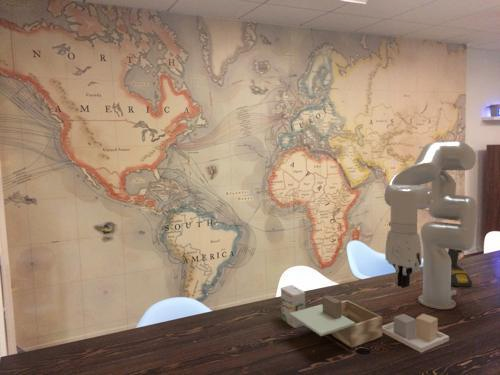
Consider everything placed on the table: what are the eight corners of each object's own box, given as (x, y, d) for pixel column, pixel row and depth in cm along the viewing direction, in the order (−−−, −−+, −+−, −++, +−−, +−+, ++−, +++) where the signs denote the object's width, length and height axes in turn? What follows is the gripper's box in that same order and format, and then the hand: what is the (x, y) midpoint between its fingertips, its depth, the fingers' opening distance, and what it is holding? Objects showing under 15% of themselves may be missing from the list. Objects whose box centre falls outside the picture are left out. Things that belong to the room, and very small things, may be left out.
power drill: (483, 292, 145) (485, 232, 143) (461, 293, 145) (462, 233, 143) (455, 276, 165) (456, 223, 163) (436, 276, 165) (437, 224, 163)
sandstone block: (422, 331, 113) (423, 313, 113) (437, 336, 110) (437, 318, 109) (416, 336, 111) (416, 317, 110) (430, 341, 107) (430, 322, 107)
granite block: (403, 331, 114) (403, 313, 113) (415, 337, 110) (415, 319, 109) (393, 335, 112) (393, 317, 111) (405, 341, 108) (406, 322, 107)
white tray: (406, 322, 121) (406, 317, 121) (448, 342, 107) (449, 336, 107) (379, 332, 115) (379, 326, 114) (421, 354, 101) (421, 348, 101)
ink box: (280, 318, 127) (280, 287, 126) (292, 315, 129) (291, 284, 128) (294, 328, 119) (293, 294, 118) (306, 325, 121) (305, 292, 120)
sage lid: (321, 306, 119) (321, 289, 119) (355, 324, 105) (355, 306, 105) (289, 315, 113) (289, 298, 112) (321, 336, 99) (320, 316, 99)
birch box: (347, 318, 125) (347, 299, 124) (382, 338, 111) (382, 316, 111) (318, 328, 119) (317, 308, 118) (351, 349, 105) (351, 327, 105)
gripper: (375, 225, 113) (376, 281, 114) (417, 233, 99) (416, 296, 101) (392, 222, 116) (392, 276, 118) (434, 230, 103) (433, 291, 104)
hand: (403, 285), depth 109 cm, fingers closed
